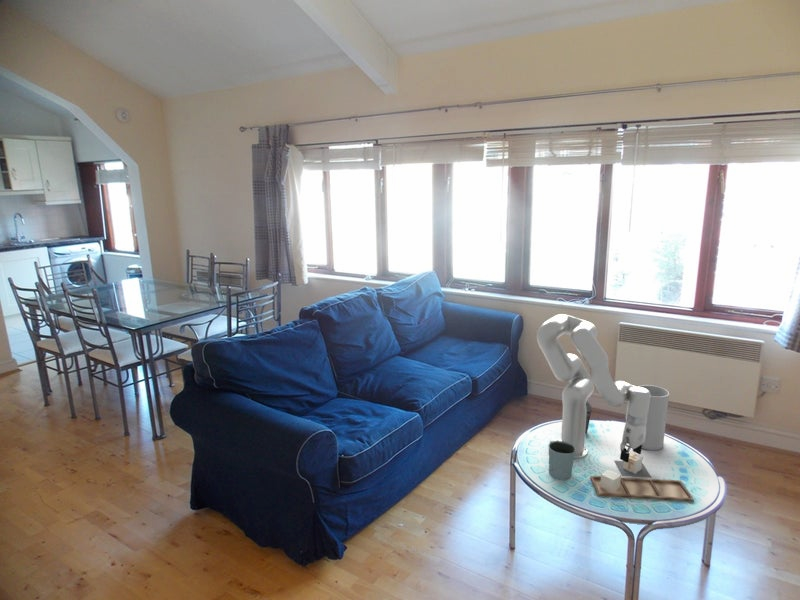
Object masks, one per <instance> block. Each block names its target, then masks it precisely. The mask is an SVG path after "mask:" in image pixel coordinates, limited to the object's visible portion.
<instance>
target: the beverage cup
mask: <svg viewBox="0 0 800 600" xmlns="http://www.w3.org/2000/svg"><path fill="white" fill-rule="evenodd" d="M592 412H593V407H592V405H591V403H590V402H589V401H586V430H585V435H586V434H588V430H589V425H590V421H591V419H590V417H591V415H592Z"/></svg>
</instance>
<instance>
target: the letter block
mask: <svg viewBox="0 0 800 600" xmlns="http://www.w3.org/2000/svg"><path fill="white" fill-rule="evenodd" d="M629 453H630V454H629V461H628V462H625V461H624V463H623V469H626V470H628V471H630V472H632V473H634V474H635V473H637V472H638V471H640V470H641V469H642V463H643V458H644V456H642V455H640V454H638V453H636V452H633V451H629Z"/></svg>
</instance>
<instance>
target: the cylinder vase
mask: <svg viewBox="0 0 800 600" xmlns="http://www.w3.org/2000/svg"><path fill="white" fill-rule="evenodd" d="M637 387H643V388H646V389H648V390H649V391H650V393H651V397H650V404H649V410H648V416H647V422H646V437H645V442H644V443H643V444H642V449H643V450H644V449H645V450H648V451H657V450H660V449H662V448H663V447H664V442H665V441H664V440H665V433H666V423H667V415H668V406H669V397H670V392H669V390H667V389H665V388H663V387H660V386H656V385H652V384H642V385H638V386H637Z"/></svg>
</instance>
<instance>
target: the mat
mask: <svg viewBox="0 0 800 600" xmlns="http://www.w3.org/2000/svg"><path fill="white" fill-rule="evenodd" d="M613 462H614V463H615V466H616V468H617V470H618V471H619V473H620V475H621V477H631V478H649V479H653V478H652V476H651V474H650V473H649V471H648V469H647V467H646V465H644V463H643V462H642V469H641V470H640V471H638V472H637V473H635V474H634V473H632V472H630V471H628V470H626V469H623V463H624V461H623V460H614V461H613Z"/></svg>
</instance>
